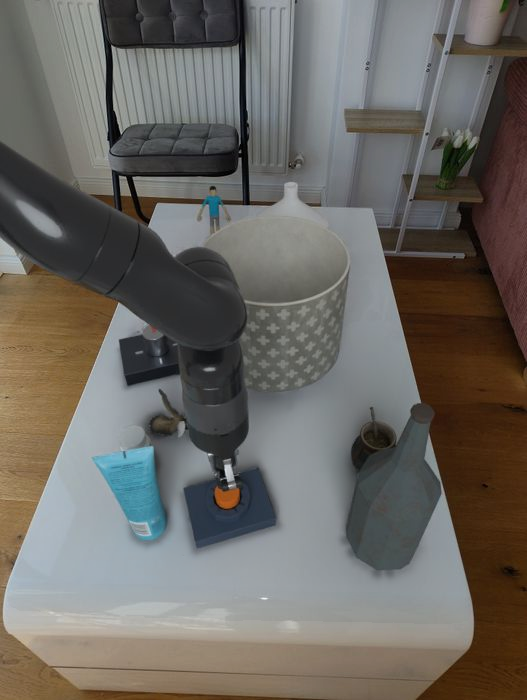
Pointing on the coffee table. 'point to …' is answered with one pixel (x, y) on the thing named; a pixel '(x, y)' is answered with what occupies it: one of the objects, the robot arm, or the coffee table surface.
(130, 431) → the pill bottle
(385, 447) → the mate gourd
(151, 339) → the program dial
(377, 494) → the bottle
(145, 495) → the tube
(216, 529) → the button block
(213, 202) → the figurine
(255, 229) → the planter
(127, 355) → the dial panel
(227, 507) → the button
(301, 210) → the vase
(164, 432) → the eagle figurine
